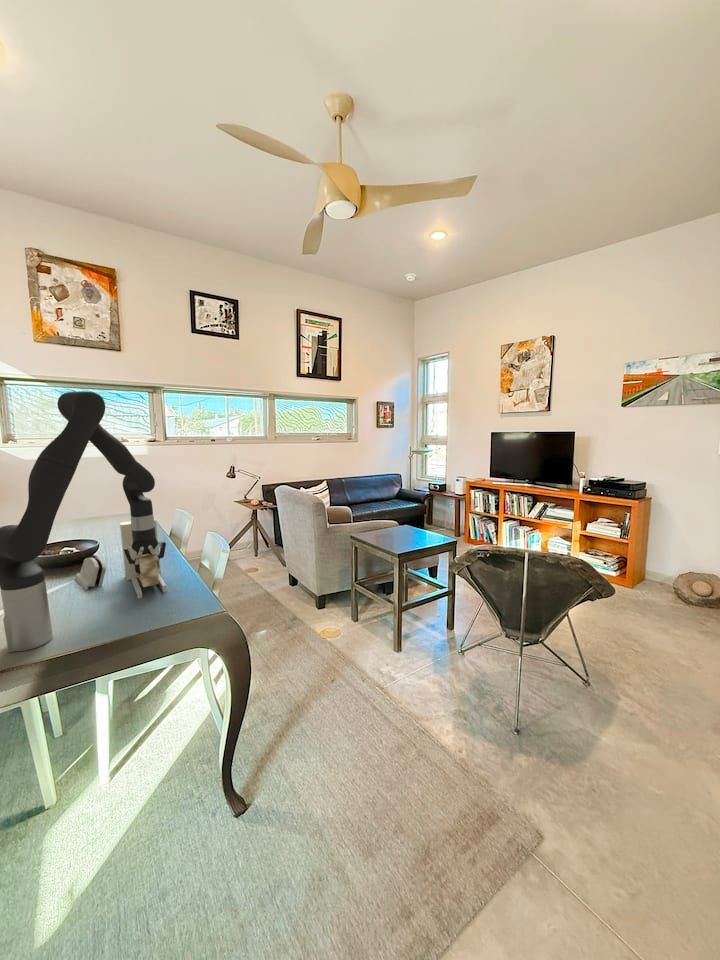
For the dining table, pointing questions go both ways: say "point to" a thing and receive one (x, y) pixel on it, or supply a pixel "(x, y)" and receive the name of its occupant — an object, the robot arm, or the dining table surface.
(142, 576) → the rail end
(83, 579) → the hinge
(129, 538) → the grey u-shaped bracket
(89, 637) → the dining table surface
